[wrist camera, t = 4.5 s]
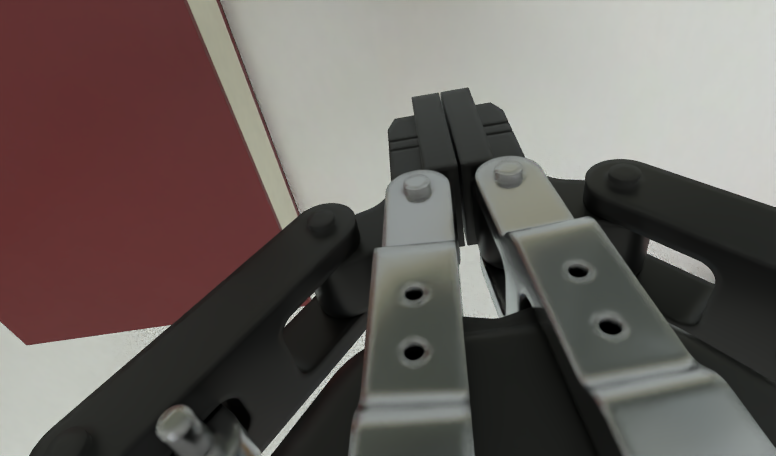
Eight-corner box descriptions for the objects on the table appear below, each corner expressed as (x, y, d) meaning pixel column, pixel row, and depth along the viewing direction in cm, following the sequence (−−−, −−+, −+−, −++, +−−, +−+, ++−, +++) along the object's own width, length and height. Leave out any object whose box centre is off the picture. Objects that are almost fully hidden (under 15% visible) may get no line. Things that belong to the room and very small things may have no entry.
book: (57, 298, 25) (26, 345, 23) (-373, -162, 13) (-531, -159, 11) (316, 259, 24) (311, 305, 22) (113, -285, 12) (52, -311, 10)
